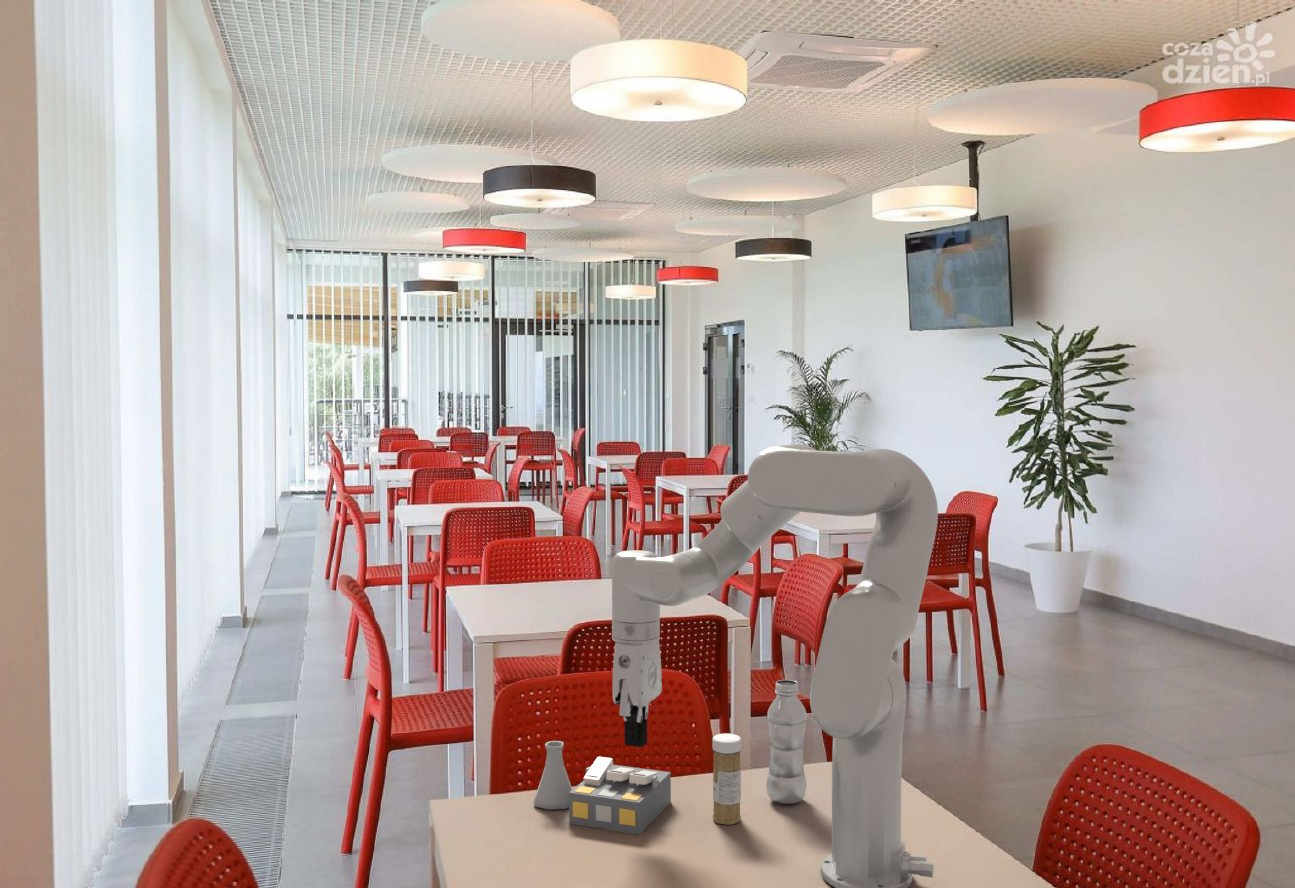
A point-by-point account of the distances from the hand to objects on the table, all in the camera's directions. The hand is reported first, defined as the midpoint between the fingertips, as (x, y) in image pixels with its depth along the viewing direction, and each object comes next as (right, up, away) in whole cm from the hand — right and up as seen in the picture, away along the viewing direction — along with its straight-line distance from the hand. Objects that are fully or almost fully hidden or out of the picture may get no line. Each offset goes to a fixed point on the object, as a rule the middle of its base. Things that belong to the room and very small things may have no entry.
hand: (635, 744), depth 165 cm
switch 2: (-2, -6, +4) cm, 8 cm away
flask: (-14, -13, +9) cm, 21 cm away
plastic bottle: (+25, -12, +9) cm, 29 cm away
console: (-2, -12, +5) cm, 13 cm away
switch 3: (+1, -6, +3) cm, 7 cm away
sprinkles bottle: (+15, -13, +1) cm, 19 cm away
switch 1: (-6, -6, +6) cm, 10 cm away
